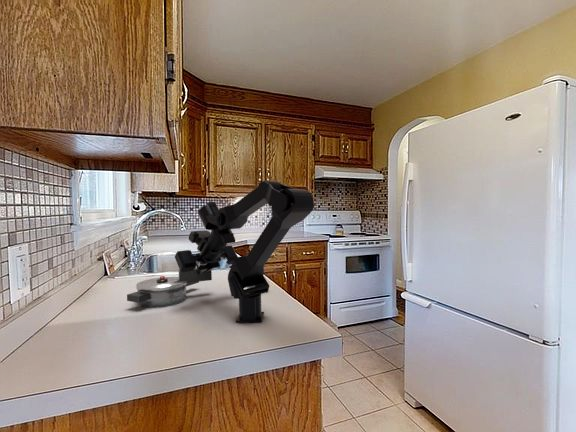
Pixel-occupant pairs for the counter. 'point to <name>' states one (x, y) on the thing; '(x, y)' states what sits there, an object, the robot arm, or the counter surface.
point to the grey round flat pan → (159, 297)
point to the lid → (173, 281)
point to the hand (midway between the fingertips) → (198, 274)
